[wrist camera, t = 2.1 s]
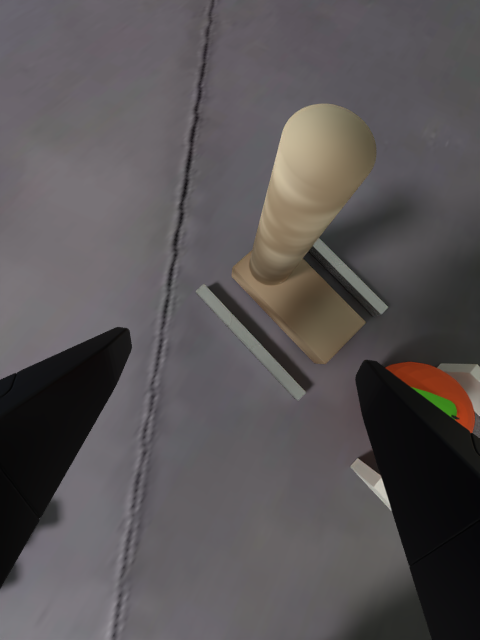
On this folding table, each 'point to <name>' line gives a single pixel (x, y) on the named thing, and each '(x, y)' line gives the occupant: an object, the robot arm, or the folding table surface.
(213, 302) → the rails
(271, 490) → the folding table surface
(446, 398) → the clementine
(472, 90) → the folding table surface
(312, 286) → the ball
